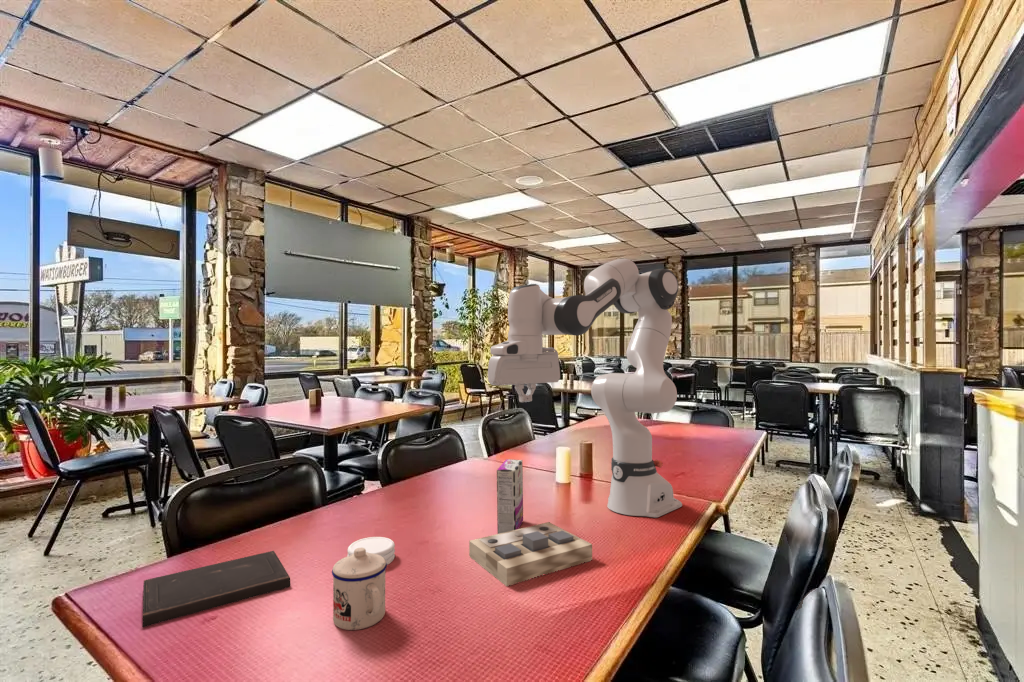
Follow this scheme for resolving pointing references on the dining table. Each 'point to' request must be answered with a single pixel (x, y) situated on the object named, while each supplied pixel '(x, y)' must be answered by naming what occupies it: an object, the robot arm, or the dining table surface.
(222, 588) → the hardcover book
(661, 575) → the dining table surface
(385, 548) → the white round disc stack
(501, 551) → the button
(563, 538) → the button
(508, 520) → the candy bar box
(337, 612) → the teacup with lid
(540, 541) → the middle button
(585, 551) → the button board
